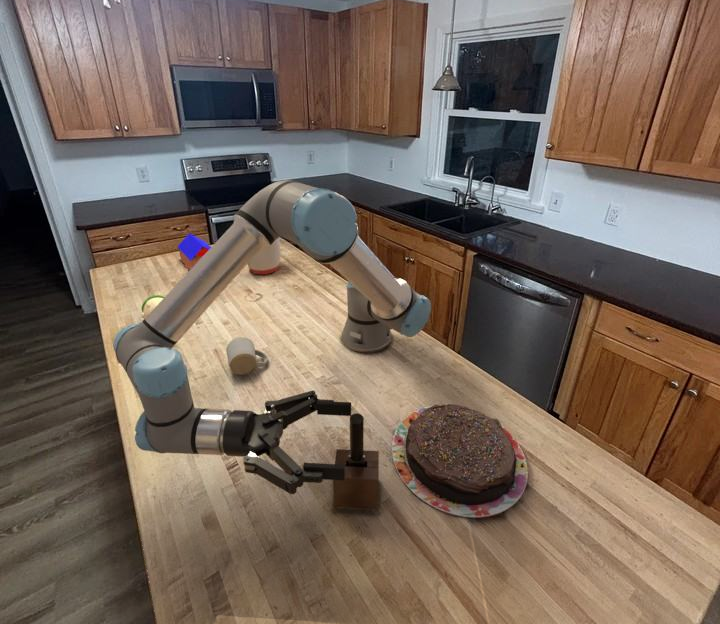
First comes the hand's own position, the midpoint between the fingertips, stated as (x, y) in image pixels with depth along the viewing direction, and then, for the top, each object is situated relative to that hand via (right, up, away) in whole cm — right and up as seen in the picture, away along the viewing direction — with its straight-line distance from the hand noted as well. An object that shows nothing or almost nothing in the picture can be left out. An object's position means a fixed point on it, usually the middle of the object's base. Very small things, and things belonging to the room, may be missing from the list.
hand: (348, 438), depth 68 cm
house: (-69, +32, +106) cm, 131 cm away
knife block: (+1, -14, +6) cm, 15 cm away
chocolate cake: (+23, -10, +15) cm, 29 cm away
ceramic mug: (-30, +2, +42) cm, 51 cm away
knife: (+1, -13, +6) cm, 14 cm away
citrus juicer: (-40, +30, +100) cm, 112 cm away
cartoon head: (-66, +13, +63) cm, 92 cm away
